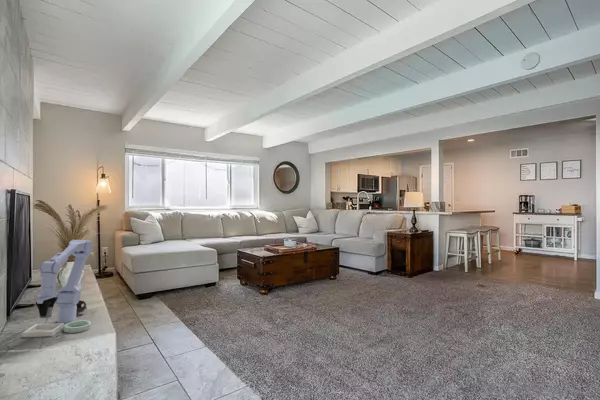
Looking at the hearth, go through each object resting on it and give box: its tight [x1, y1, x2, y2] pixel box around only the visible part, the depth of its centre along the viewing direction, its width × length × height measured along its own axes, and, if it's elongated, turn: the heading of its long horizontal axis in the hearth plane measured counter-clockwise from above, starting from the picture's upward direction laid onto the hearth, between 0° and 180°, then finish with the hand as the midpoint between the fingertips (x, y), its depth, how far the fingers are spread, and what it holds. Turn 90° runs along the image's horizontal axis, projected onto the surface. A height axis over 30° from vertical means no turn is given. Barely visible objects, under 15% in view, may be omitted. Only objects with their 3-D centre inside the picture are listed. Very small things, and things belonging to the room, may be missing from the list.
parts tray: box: [21, 322, 65, 338], centre depth 153 cm, size 12×12×3 cm
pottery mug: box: [76, 299, 88, 315], centre depth 184 cm, size 12×10×8 cm
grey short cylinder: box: [39, 306, 53, 319], centre depth 153 cm, size 5×5×4 cm
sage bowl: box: [63, 319, 92, 334], centre depth 159 cm, size 11×11×3 cm
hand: (45, 314), depth 153 cm, fingers closed on grey short cylinder, 5 cm apart
